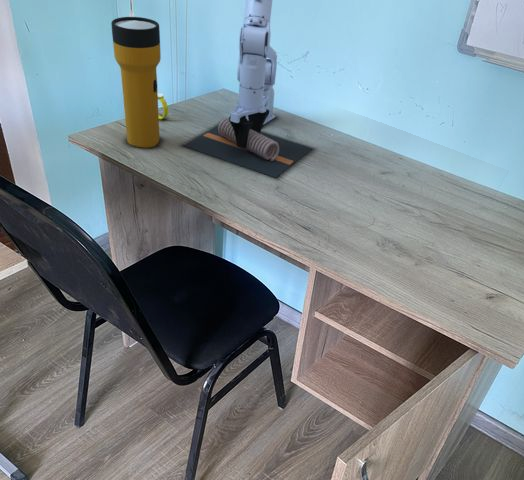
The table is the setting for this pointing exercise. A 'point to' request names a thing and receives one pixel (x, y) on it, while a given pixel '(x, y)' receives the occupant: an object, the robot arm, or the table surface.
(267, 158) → the coil
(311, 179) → the table surface
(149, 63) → the flashlight
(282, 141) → the mat
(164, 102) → the watch
